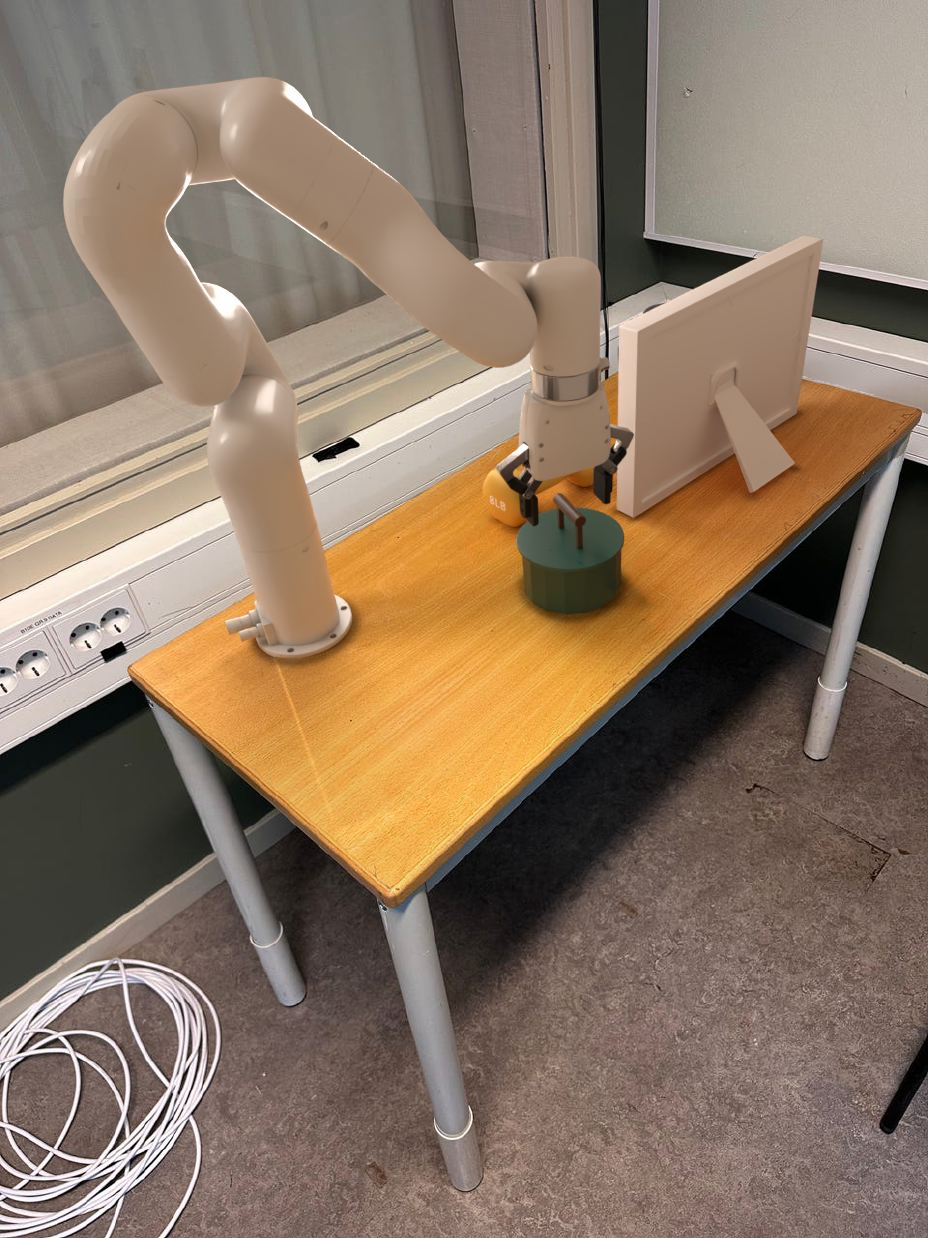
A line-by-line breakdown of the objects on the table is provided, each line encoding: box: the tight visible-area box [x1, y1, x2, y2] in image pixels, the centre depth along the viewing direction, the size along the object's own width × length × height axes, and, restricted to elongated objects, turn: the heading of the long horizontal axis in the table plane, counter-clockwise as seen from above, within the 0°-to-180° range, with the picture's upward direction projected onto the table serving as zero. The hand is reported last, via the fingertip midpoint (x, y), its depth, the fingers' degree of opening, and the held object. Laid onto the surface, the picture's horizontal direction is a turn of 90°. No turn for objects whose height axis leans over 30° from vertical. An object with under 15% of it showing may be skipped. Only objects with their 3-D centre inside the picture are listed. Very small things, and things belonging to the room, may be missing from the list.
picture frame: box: [616, 235, 824, 519], centre depth 125 cm, size 40×12×28 cm, turn 131°
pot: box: [521, 550, 622, 615], centre depth 114 cm, size 12×12×8 cm
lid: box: [516, 492, 625, 572], centre depth 110 cm, size 13×13×6 cm
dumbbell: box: [481, 467, 595, 528], centre depth 130 cm, size 19×9×8 cm, turn 129°
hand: (566, 509), depth 109 cm, fingers open, 9 cm apart
